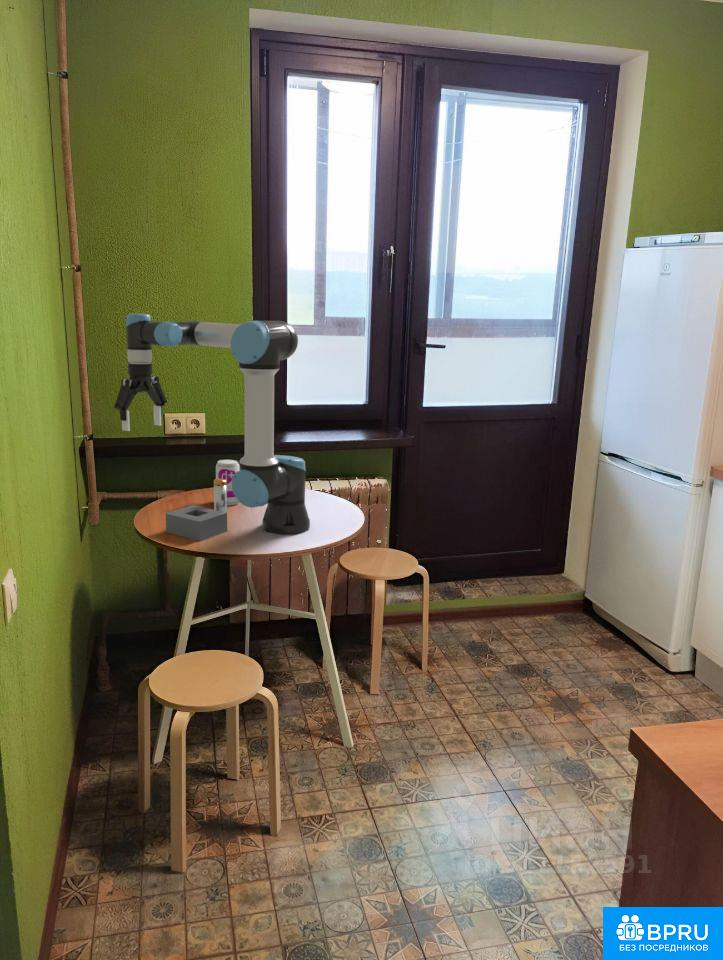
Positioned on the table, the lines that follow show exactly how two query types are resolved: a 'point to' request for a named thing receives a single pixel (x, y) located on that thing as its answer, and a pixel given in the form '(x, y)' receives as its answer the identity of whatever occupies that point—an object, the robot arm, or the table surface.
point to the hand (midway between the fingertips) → (142, 427)
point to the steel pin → (220, 495)
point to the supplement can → (228, 477)
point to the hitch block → (196, 522)
